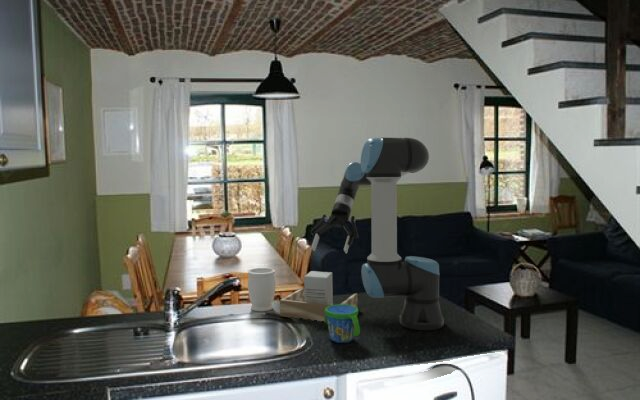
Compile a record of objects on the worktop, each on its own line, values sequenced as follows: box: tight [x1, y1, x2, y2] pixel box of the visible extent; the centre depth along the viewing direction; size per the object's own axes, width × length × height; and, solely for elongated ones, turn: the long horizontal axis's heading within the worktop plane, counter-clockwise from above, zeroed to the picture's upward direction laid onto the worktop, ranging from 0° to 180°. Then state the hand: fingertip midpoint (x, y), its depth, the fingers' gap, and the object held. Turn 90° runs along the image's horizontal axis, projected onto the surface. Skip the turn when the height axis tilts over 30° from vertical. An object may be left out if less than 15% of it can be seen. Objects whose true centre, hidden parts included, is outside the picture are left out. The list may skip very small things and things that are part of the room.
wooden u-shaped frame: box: [279, 287, 358, 323], centre depth 194 cm, size 19×24×6 cm
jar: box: [247, 267, 276, 312], centre depth 199 cm, size 11×10×15 cm
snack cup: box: [324, 303, 361, 344], centre depth 165 cm, size 16×10×10 cm
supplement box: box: [303, 270, 334, 305], centre depth 193 cm, size 9×9×15 cm
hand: (328, 250), depth 202 cm, fingers open, 13 cm apart
